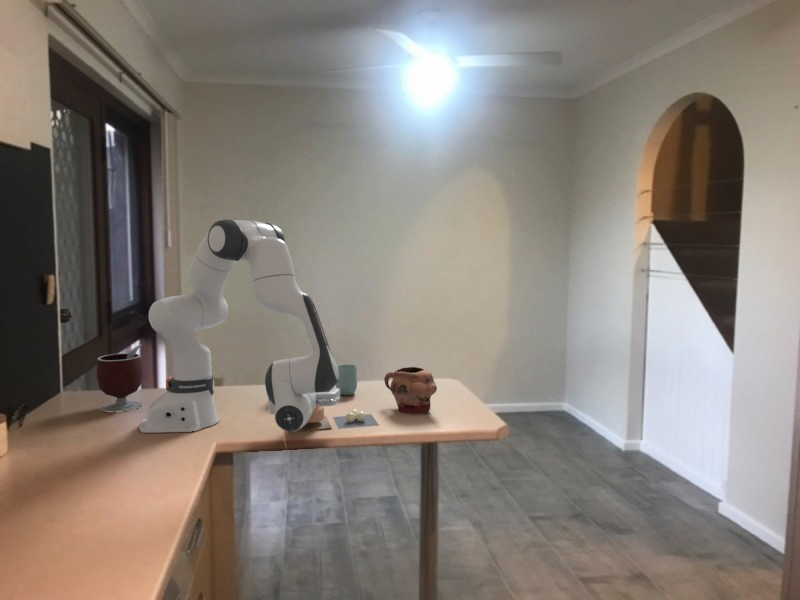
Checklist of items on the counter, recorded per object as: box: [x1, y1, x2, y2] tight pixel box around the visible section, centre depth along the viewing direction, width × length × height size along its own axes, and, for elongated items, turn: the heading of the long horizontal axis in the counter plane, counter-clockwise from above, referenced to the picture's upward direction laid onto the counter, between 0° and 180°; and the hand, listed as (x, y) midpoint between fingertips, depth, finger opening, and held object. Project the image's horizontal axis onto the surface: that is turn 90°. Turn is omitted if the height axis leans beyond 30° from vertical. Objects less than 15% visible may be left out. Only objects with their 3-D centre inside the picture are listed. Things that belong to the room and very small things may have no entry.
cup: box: [335, 363, 358, 396], centre depth 223 cm, size 8×8×10 cm
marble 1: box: [349, 409, 359, 416], centre depth 191 cm, size 3×3×3 cm
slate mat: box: [332, 413, 380, 430], centre depth 189 cm, size 12×12×1 cm
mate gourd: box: [96, 344, 144, 412], centre depth 208 cm, size 16×14×20 cm
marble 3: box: [356, 411, 366, 422], centre depth 189 cm, size 3×3×3 cm
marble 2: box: [345, 412, 356, 423], centre depth 188 cm, size 3×3×3 cm
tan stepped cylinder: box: [307, 406, 325, 423], centre depth 185 cm, size 9×9×13 cm
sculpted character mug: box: [384, 366, 438, 415], centre depth 201 cm, size 20×12×14 cm, turn 59°
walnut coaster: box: [288, 415, 332, 433], centre depth 186 cm, size 12×12×1 cm
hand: (308, 389), depth 186 cm, fingers closed on tan stepped cylinder, 6 cm apart
